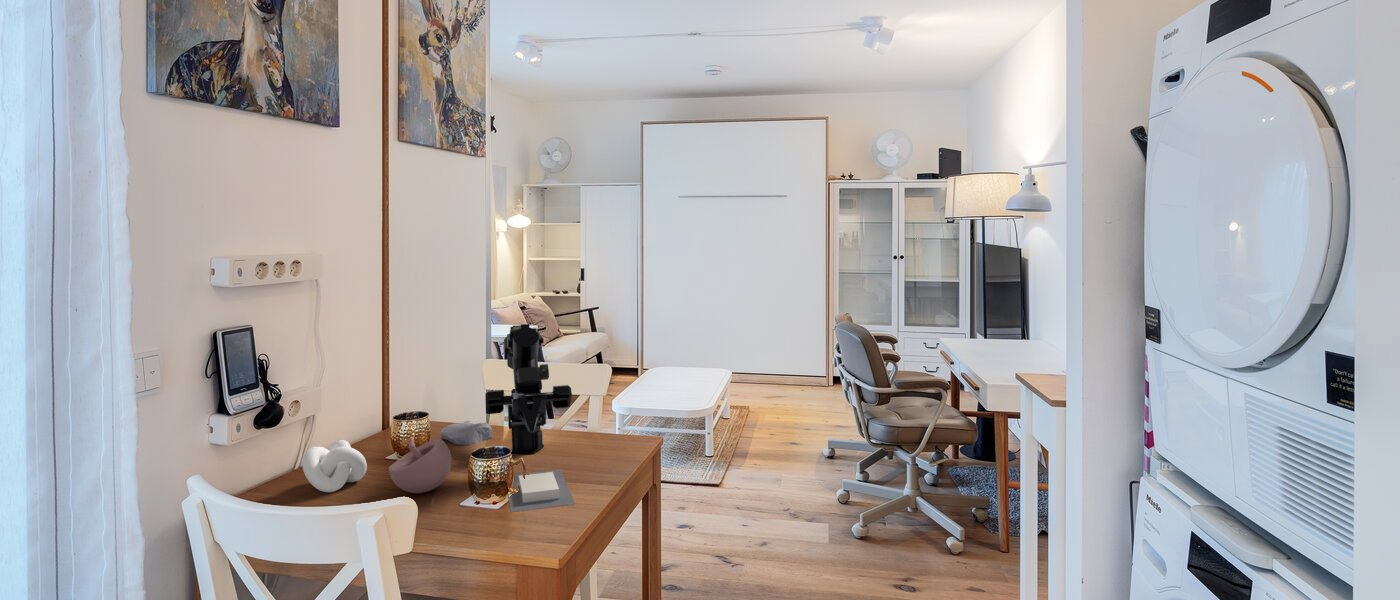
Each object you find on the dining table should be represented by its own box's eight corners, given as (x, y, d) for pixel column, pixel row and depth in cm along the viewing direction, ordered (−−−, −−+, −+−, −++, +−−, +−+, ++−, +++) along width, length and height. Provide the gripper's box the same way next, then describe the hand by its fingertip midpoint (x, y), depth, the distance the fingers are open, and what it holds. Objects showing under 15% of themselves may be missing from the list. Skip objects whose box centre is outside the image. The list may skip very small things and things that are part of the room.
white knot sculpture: (296, 485, 149) (294, 443, 148) (357, 472, 156) (355, 433, 156) (307, 499, 140) (305, 455, 139) (371, 485, 148) (369, 444, 147)
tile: (518, 475, 145) (522, 493, 135) (552, 471, 147) (559, 488, 137) (518, 485, 145) (522, 503, 135) (552, 481, 148) (559, 498, 137)
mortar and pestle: (391, 486, 147) (389, 432, 146) (452, 478, 151) (449, 427, 150) (388, 505, 136) (385, 448, 135) (453, 497, 140) (450, 441, 139)
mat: (504, 477, 151) (504, 475, 151) (560, 471, 155) (560, 469, 155) (510, 514, 131) (510, 512, 131) (575, 506, 134) (575, 503, 134)
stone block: (467, 454, 176) (496, 436, 184) (463, 436, 175) (492, 420, 183) (436, 449, 182) (466, 432, 190) (432, 432, 181) (462, 416, 189)
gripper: (483, 355, 153) (486, 415, 143) (569, 350, 159) (578, 408, 149) (484, 383, 161) (487, 443, 151) (565, 378, 167) (573, 435, 157)
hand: (531, 431), depth 152 cm, fingers closed
